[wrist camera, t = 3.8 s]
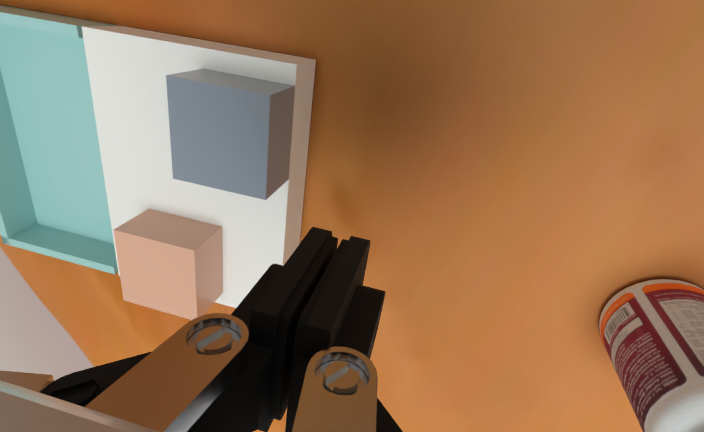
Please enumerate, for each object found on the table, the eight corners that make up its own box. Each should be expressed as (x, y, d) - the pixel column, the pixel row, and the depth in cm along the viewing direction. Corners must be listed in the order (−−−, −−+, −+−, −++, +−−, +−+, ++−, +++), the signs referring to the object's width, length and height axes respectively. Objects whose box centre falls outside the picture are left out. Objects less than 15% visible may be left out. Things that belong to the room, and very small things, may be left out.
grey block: (295, 85, 20) (270, 95, 18) (288, 179, 23) (265, 200, 20) (203, 68, 21) (165, 75, 18) (205, 161, 23) (172, 178, 21)
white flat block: (316, 59, 22) (296, 64, 20) (295, 293, 30) (278, 319, 27) (122, 26, 24) (81, 26, 22) (147, 254, 32) (118, 275, 29)
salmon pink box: (222, 226, 25) (194, 250, 22) (222, 292, 27) (197, 321, 25) (149, 208, 26) (113, 229, 23) (155, 274, 28) (123, 300, 25)
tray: (118, 25, 24) (76, 25, 22) (143, 253, 32) (114, 274, 29) (-14, 2, 26) (-68, 0, 23) (39, 225, 33) (3, 243, 30)
